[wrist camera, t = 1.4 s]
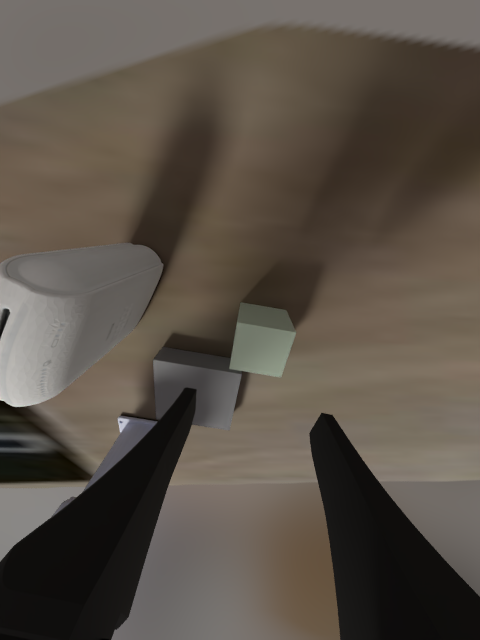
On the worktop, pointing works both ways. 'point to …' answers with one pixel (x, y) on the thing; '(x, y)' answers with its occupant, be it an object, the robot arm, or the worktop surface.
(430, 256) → the worktop surface
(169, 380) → the grey block
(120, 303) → the photo printer
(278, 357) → the green cube
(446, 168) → the worktop surface
